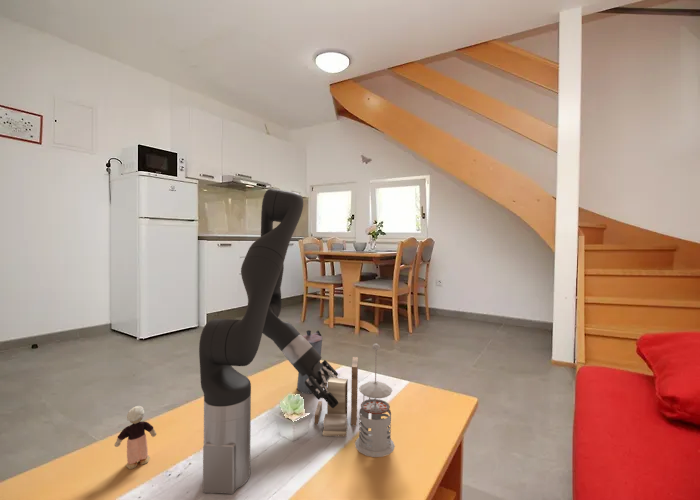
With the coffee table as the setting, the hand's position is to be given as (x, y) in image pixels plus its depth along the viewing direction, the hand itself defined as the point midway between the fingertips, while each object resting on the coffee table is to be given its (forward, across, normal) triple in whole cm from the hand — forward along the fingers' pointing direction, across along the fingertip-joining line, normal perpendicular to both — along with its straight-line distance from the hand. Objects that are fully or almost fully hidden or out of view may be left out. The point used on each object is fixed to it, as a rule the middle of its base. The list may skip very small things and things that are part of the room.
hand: (339, 398), depth 94 cm
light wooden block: (+4, 0, +5) cm, 6 cm away
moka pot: (-6, +18, +15) cm, 24 cm away
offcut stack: (+4, -6, +4) cm, 8 cm away
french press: (+12, -9, -3) cm, 15 cm away
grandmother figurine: (-24, -29, +32) cm, 49 cm away
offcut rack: (+4, +1, +5) cm, 6 cm away
